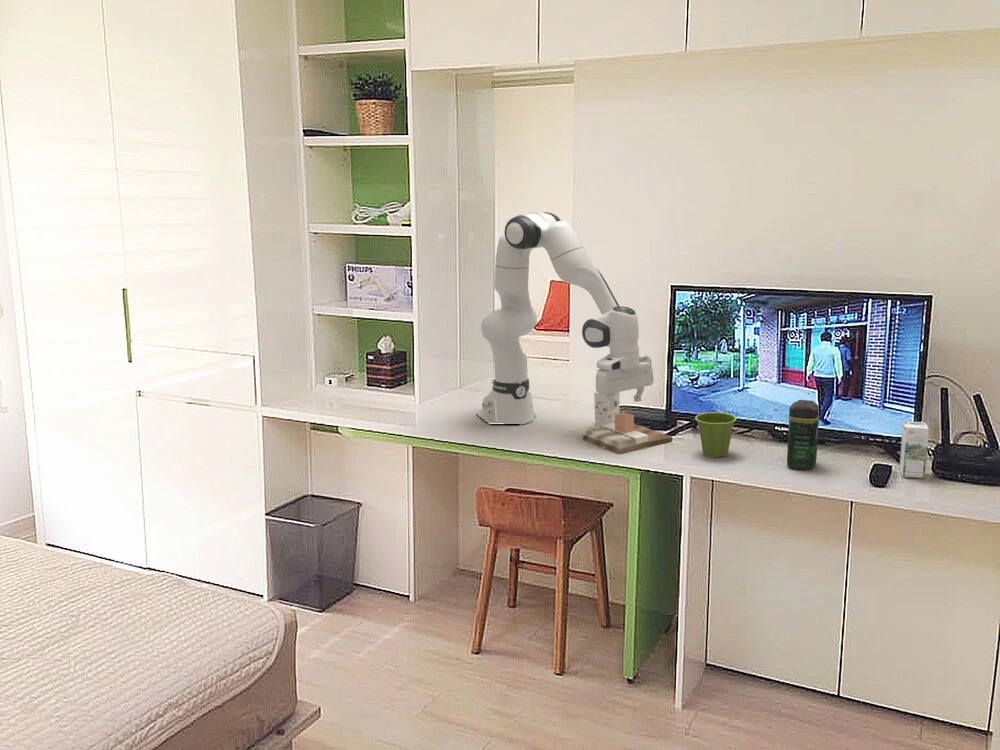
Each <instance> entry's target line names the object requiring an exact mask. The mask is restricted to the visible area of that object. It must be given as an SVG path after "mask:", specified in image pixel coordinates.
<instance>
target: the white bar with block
mask: <svg viewBox="0 0 1000 750" xmlns="http://www.w3.org/2000/svg"><path fill="white" fill-rule="evenodd" d="M634 424H635V415H633V414H630V413H628V412H624V411H623V412H620V413H617V414H615V423H611V424H606V425H602V427H604V428H607V429H610V430H613V431H615V432H618V433H621V434H624V435H626V436H629V437H632V438H634V439H635V444H640V443H644V442H648V435H647V434H644V433H641V432H638V431H635V430H634Z"/></svg>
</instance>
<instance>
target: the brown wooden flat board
mask: <svg viewBox="0 0 1000 750" xmlns="http://www.w3.org/2000/svg"><path fill="white" fill-rule="evenodd" d="M636 424H637V423H634V430H635V431H638V432H641V433H644V434H647V435H648V442H644V443H640V444H635V439H634V438H632V437H629V436H626V435H624V434H621V433H618V432H615V431H613V430H610V429H607V428H604V427H602V426H599V427H595V426H594V427H590V428H586V429H585V432H584V434H583V435H582V438H583V440H582V441H585V440H586V441H585V442H587V441H588V443H590V442H591V443H590V444H592V443H593V445H595V444H596V445H595V446H597V445H598V447H600V446H601V447H600V448H602V447H604V448H603V449H605V448H606V449H605V450H607V449H608V450H607V451H610V450H611V451H610V452H612V451H614V452H613V453H615V452H616V453H615V454H617V453H618V454H617V455H621V454H625V453H630V452H634V451H637V450H642V449H647V448H651V447H655V446H658V445H663V444H667V443H672V442H673V436H671V435H669V434H666V433H664V432H660V431H658V430H654V429H651V428H648V427H645V426H643V425H640V424H637V425H636Z"/></svg>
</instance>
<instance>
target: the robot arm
mask: <svg viewBox="0 0 1000 750" xmlns="http://www.w3.org/2000/svg"><path fill="white" fill-rule="evenodd" d="M497 243H498V244H497V247H496V253H495V255H496V256H495V262H494V263H495V264H494V265H495V268H494V290H495V291H496V292H497V293H498V295H499V299H500V304H501V305H500V306H501V307H500V308H498V309H497V310H493V311H491V312H489V314H487V315H486V316H485V317H484V318H483V319H482V321H481V324H480V331H481V334H482V336H483V337H484V339H485V340H486V341H487V342H488V343H489V345H490V348H491V349H490V350H491V352H492V355H493V361H494V364H493V365H494V379H492V380H491V381H492V382H491V384H492V389H491V391H490V392H489V393H488V394H486V396H484V397H483V399H482V402H481V406H482V408H481V409H479V410H477V411H476V412H475V415H476V414H477V415H478V416H479V418H480V417H481V418H483V419H484V420H486V421H487V422H489V423H504V424H520V425H525V424H528V423H529V424H530V423H531V422H533V421H534V419H535V417H537V412H536V411H534V402H533V395H532V393H531V392H530V391H529V390H530V379H529V377H528V356H527V355H526V353H525V352H524V351H523V349H522V347H521V344H520V338H521V337H523V336H526V335H528V334H529V333H530V332H531V331H533V330H534V328H535V327H536V325H537V322H538V315H537V312H536V310H535V309H534V308H533V306H532V303H531V298H530V293H529V292H530V291H529V273H530V254H531V252H532V250H533V249H539V248H544V249H545V251H546V252H547V255H548V257H549V260H550V261H551V264H552V266H553V269H554V271H555V273H556V274H557V276H558V277H559V279H560V280H561V281H563V282H564V283H566V284H569V285H574V286H577V287H580V288H581V289H584V290H586V291H587V292H588V294H590V295H591V297H592V300H593V301H594V304H595V305H596V307H597V308H598V310H599V312H600V315H597V316H594V317H591V318H589V319H587V320H586V321H585V322H584V323H583V325H582V328H581V336H582V338H583V341H584V343H586V344H585V345H587V346H589V347H590V348H593V349H600V348H604V347H608V348H609V354H607V355H606V356H604V357H603V358H601V359H598V360H597V362H596V368H597V370H596V373H595V391H596V392H598V393H599V394H602V395H607V397H608V399H609V401H610V406H611V407H615V406H617V401H615V400H614V398H613V396H614V393H616V392H620V393H621V392H625V391H629V390H630V391H631V390H634V389H636V390H637V391H636V393H635V395H633V401H634V402H637V403H638V402H639V403H640V402H641V401H642V395H643V393H644V391H645V387H648V386H653V383H654V380H655V379H654V370H653V365H652V359H651V358H650V356H647V355H644V356H640V348H639V344H638V343H639V342H638V341H639V337H640V334H639V333H640V331H639V329H640V328H639V318H638V314H637V312H636V311H635V309H633V308H631V307H628V306H620V304H619V302H618V301H617V299H616V298H615V297H616V296H615V295H614V294H613V291H612V290H611V289H610V286H609V285H608V282H607V281H606V280H605V278H604V276H603V274H602V273H601V272H600V270H599V269H598V268H597V267H596V266H595V265H594V264H593V262H592V260H591V258H590V257H589V255H588V254H587V251H586V249H585V246H584V245H583V242H582V240H581V239H580V237H579V235H578V233H577V232H576V230H575V229H574V227H573V226H572V225H571V223H569V222H568V221H565V220H562V219H561V218H560V217H558V215H556V214H554V213H552V212H546V211H545V212H531V213H526V214H523V215H522V214H519V215H516V216H514V217H512V218H510V219H509V220H508V221H507V223H506V224H505V227H504V233H502V234H501V235H500V237H499V239H498V242H497ZM477 415H476V416H477ZM478 416H477V417H478ZM481 418H480V419H481ZM484 420H483V421H484Z"/></svg>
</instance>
